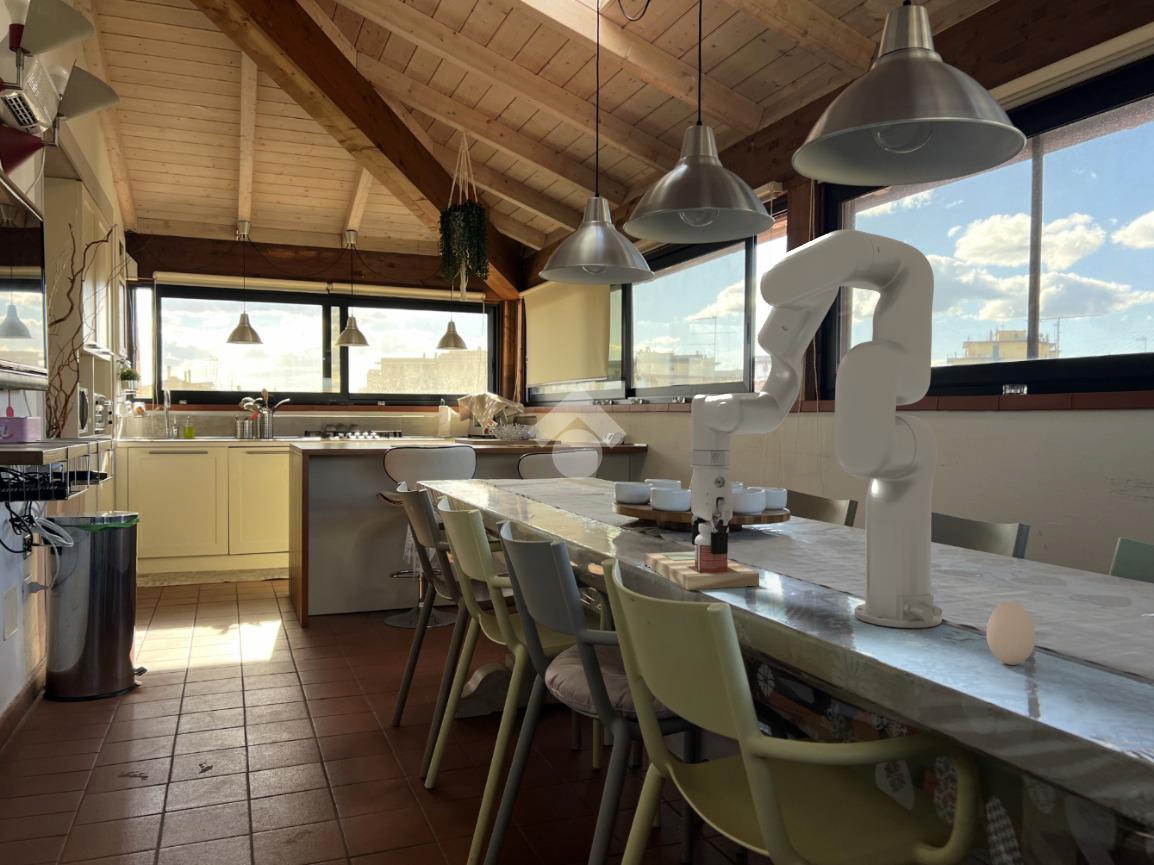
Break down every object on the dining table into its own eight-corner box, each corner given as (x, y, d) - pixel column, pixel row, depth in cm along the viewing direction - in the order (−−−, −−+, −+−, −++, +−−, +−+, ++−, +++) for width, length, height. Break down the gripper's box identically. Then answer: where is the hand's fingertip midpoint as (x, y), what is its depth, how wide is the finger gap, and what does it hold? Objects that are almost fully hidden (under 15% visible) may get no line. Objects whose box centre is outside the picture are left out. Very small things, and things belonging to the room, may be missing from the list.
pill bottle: (734, 582, 158) (734, 524, 157) (710, 586, 154) (710, 526, 154) (712, 577, 163) (712, 521, 163) (688, 581, 159) (688, 523, 159)
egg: (988, 668, 104) (988, 605, 104) (984, 656, 109) (984, 596, 109) (1038, 672, 102) (1038, 608, 102) (1031, 660, 107) (1031, 599, 107)
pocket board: (759, 586, 154) (759, 571, 154) (687, 590, 151) (687, 575, 151) (706, 562, 180) (706, 549, 179) (644, 565, 176) (644, 552, 176)
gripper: (748, 462, 151) (746, 556, 151) (711, 456, 167) (710, 541, 168) (708, 463, 149) (707, 558, 149) (676, 456, 166) (675, 542, 166)
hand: (709, 549), depth 159 cm, fingers open, 9 cm apart
